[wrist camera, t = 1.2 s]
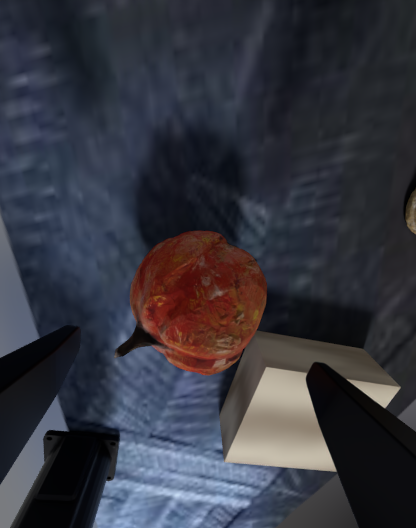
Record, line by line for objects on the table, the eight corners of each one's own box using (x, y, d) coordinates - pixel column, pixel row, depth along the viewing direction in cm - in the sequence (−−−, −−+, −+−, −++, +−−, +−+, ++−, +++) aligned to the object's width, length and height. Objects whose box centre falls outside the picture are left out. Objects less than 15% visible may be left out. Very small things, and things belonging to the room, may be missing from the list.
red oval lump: (222, 203, 16) (65, 236, 10) (325, 228, 11) (133, 320, 5) (220, 289, 19) (102, 350, 13) (297, 338, 14) (164, 466, 8)
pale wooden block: (313, 422, 22) (337, 471, 19) (219, 411, 21) (224, 462, 17) (360, 346, 19) (400, 387, 15) (251, 326, 18) (266, 367, 14)
